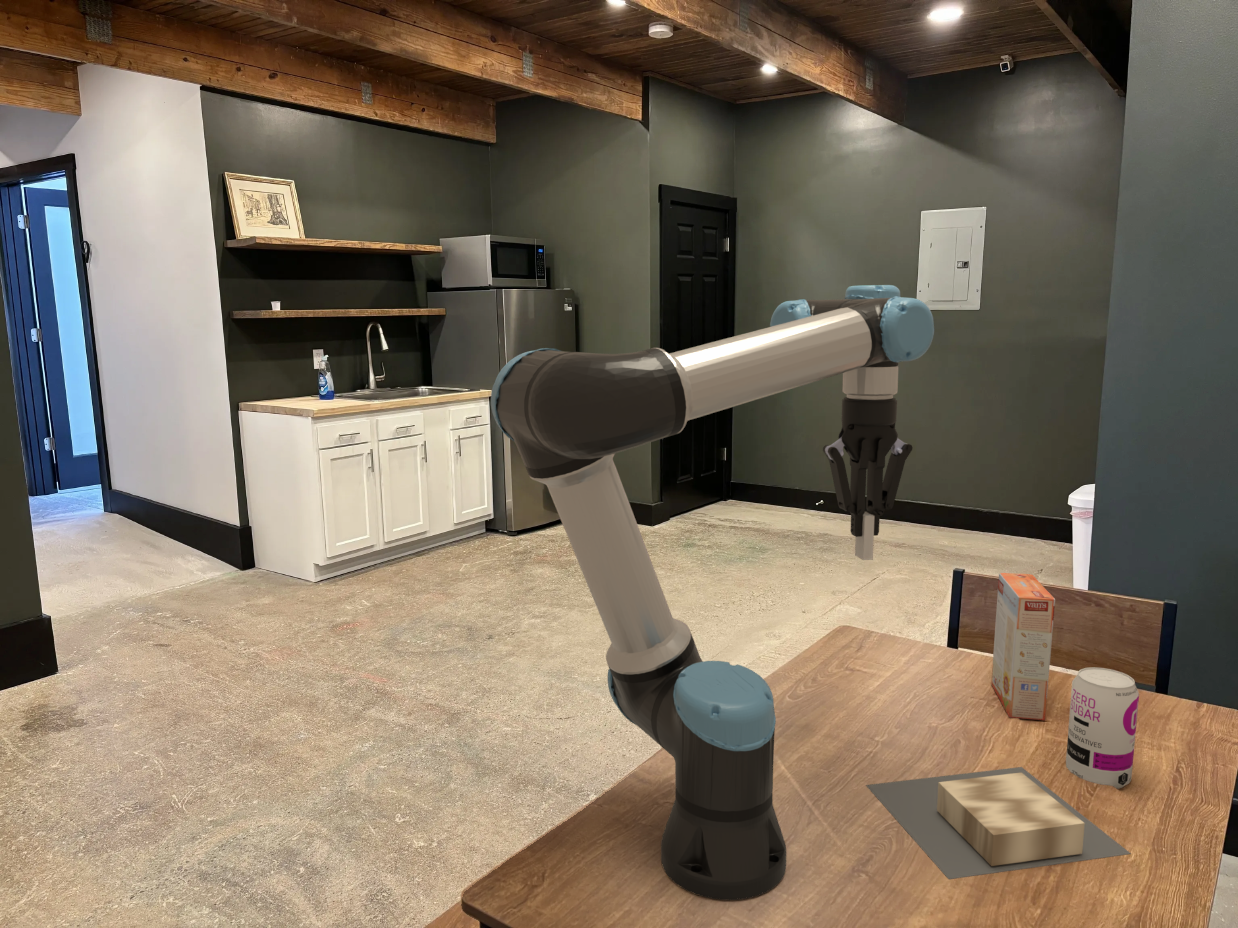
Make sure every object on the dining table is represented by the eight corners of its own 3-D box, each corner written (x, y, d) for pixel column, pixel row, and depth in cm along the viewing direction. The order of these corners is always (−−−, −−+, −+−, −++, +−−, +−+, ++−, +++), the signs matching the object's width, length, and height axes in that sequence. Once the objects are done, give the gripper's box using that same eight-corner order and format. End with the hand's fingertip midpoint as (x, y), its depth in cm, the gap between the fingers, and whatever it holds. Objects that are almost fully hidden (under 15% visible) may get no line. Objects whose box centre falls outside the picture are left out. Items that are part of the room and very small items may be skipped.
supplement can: (1137, 775, 125) (1146, 675, 123) (1121, 798, 119) (1130, 694, 117) (1075, 756, 131) (1083, 661, 128) (1057, 777, 125) (1065, 678, 122)
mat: (948, 886, 101) (948, 878, 101) (865, 791, 122) (865, 784, 122) (1130, 860, 106) (1131, 853, 106) (1021, 773, 126) (1021, 766, 126)
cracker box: (1048, 722, 142) (1057, 598, 138) (1008, 719, 143) (1016, 596, 139) (1026, 686, 155) (1034, 572, 152) (990, 684, 156) (997, 571, 153)
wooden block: (936, 811, 115) (991, 867, 103) (938, 782, 114) (993, 834, 102) (1019, 801, 117) (1081, 855, 105) (1021, 772, 116) (1084, 822, 105)
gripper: (899, 392, 129) (892, 548, 133) (815, 395, 127) (811, 553, 131) (925, 397, 122) (918, 561, 126) (837, 400, 119) (832, 567, 123)
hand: (863, 557), depth 128 cm, fingers closed
